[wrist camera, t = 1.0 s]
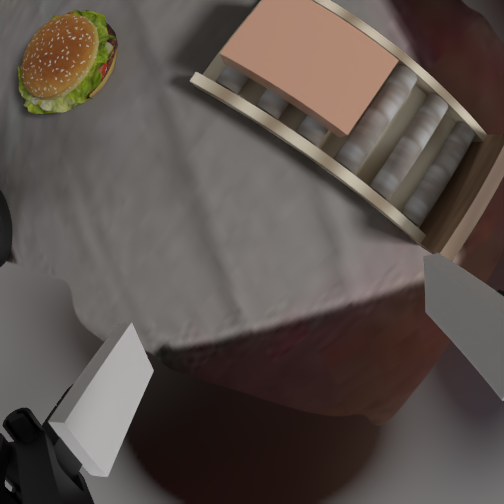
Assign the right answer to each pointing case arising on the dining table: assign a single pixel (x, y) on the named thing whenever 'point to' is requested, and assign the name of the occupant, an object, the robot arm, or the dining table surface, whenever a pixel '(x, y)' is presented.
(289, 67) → the slab
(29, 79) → the food
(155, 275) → the dining table surface
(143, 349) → the robot arm
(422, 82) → the roller bed
